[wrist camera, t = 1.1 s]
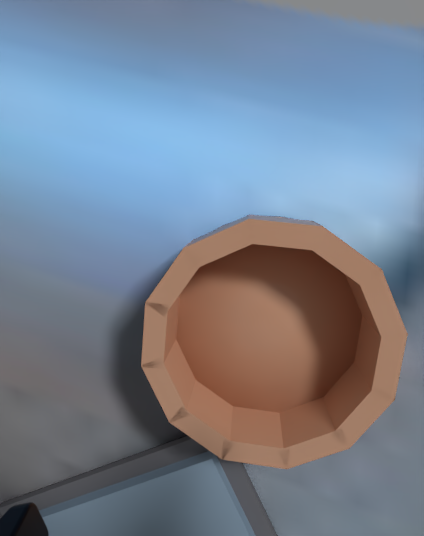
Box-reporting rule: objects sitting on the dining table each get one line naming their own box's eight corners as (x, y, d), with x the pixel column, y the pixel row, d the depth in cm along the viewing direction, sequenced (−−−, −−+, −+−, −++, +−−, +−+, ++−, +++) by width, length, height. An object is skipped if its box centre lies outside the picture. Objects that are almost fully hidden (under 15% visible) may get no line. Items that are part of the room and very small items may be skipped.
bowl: (406, 376, 21) (441, 418, 17) (214, 444, 23) (206, 496, 19) (326, 178, 20) (344, 175, 16) (128, 268, 21) (100, 285, 18)
